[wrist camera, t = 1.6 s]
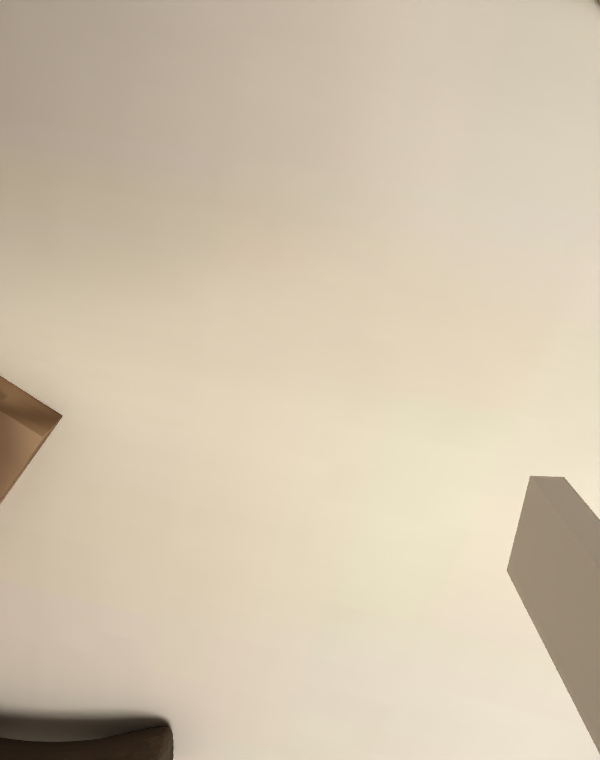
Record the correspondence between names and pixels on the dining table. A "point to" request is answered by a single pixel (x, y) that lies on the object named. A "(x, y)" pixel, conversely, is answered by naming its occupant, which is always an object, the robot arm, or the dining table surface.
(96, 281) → the dining table surface
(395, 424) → the dining table surface
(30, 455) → the wooden block tray
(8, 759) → the dark brown bone
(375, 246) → the dining table surface
